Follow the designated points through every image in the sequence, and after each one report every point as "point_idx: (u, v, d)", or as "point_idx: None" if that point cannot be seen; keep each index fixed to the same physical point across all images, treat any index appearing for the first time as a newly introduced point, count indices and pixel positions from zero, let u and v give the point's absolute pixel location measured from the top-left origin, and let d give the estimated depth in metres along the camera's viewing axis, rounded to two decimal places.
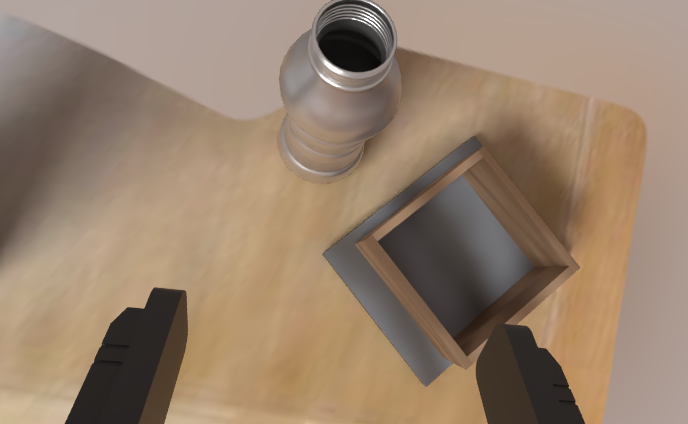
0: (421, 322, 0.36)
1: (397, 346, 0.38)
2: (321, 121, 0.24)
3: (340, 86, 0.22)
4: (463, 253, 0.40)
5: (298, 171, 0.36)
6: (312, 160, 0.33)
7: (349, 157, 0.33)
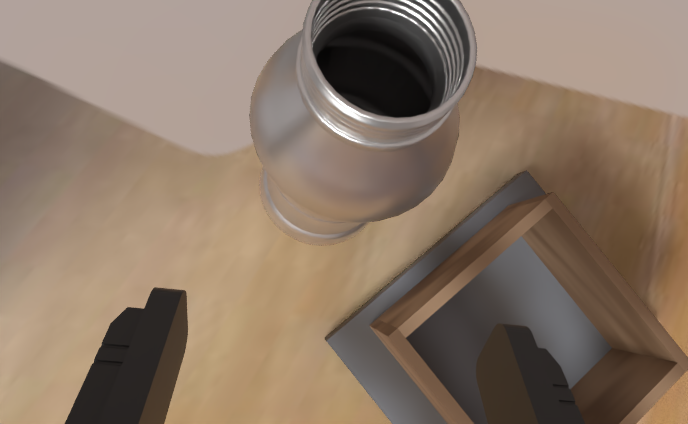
0: None
1: None
2: (323, 193, 0.14)
3: (361, 140, 0.11)
4: None
5: (289, 231, 0.26)
6: (308, 223, 0.22)
7: None
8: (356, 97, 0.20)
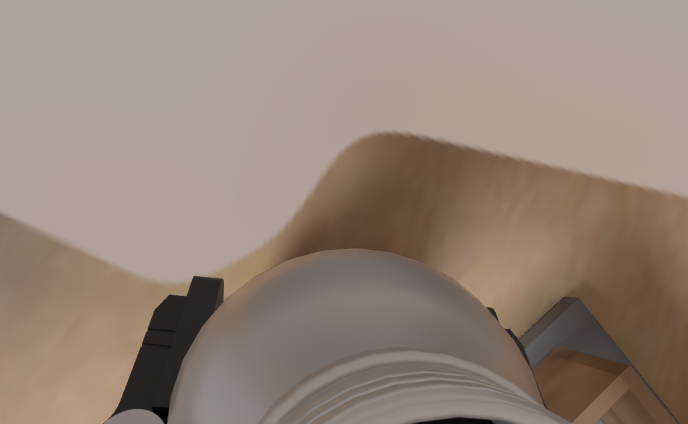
0: None
1: None
2: None
3: None
4: None
5: None
6: None
7: None
8: None
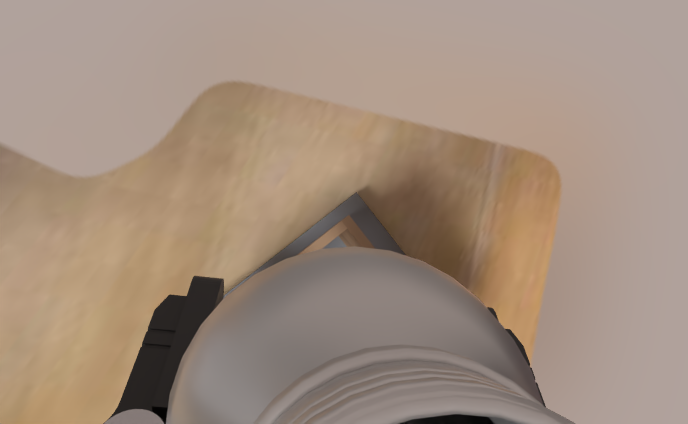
0: None
1: None
2: None
3: None
4: None
5: None
6: None
7: None
8: None
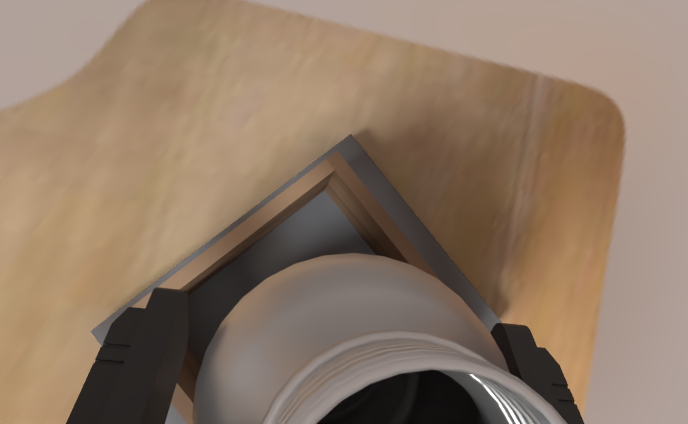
0: None
1: None
2: None
3: None
4: None
5: None
6: None
7: None
8: None
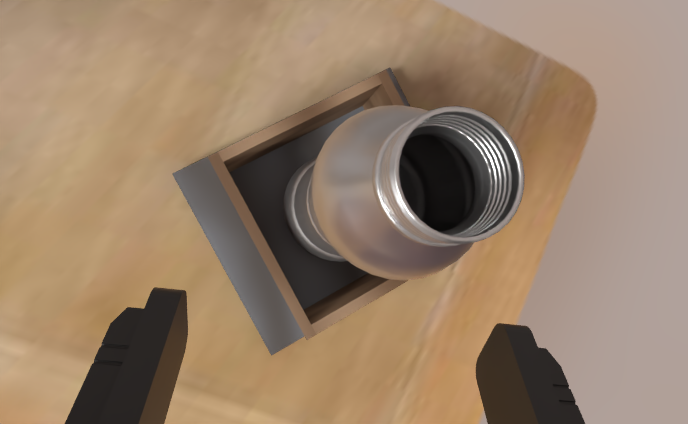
0: None
1: (244, 301, 0.31)
2: (367, 256, 0.16)
3: (416, 238, 0.14)
4: None
5: (305, 245, 0.28)
6: (328, 248, 0.25)
7: None
8: None
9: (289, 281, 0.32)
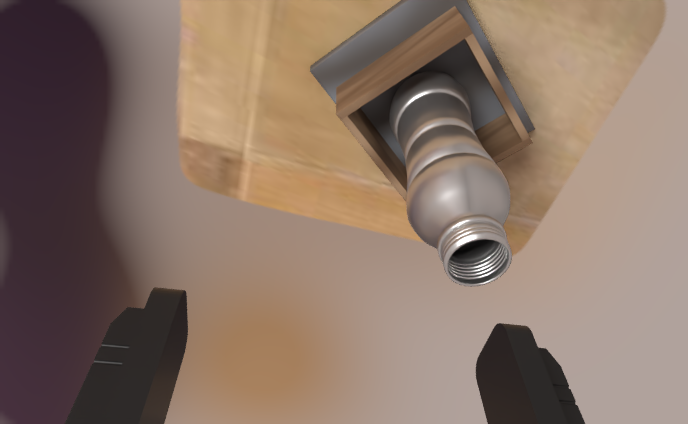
0: (374, 73, 0.38)
1: (348, 45, 0.39)
2: (423, 200, 0.29)
3: (442, 239, 0.27)
4: None
5: (401, 99, 0.38)
6: (406, 129, 0.36)
7: None
8: None
9: None
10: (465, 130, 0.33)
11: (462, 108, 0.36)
